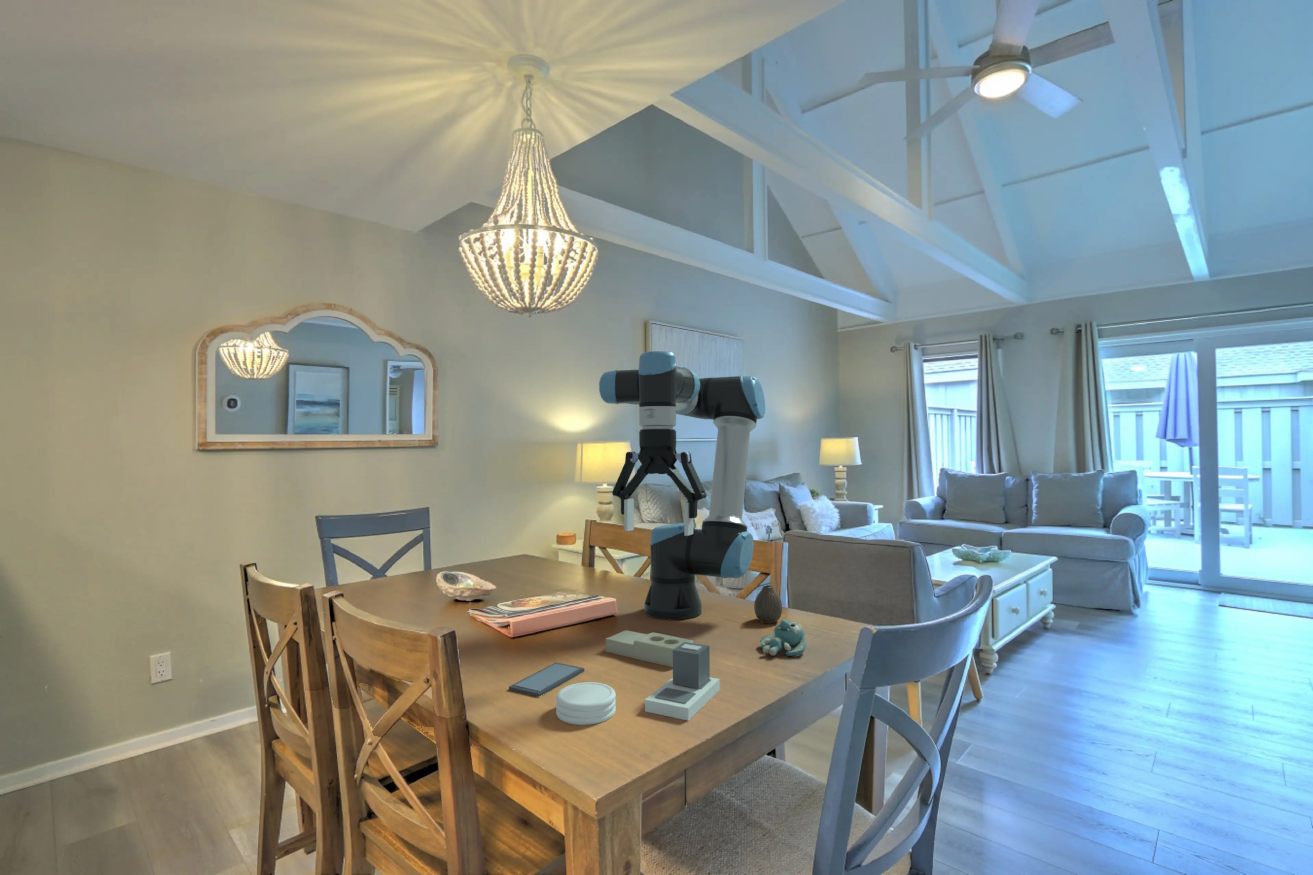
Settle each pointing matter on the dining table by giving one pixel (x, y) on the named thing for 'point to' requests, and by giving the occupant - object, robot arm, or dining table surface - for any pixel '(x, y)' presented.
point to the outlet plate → (681, 699)
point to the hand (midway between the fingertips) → (658, 532)
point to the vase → (768, 605)
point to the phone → (546, 679)
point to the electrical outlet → (645, 646)
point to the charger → (691, 665)
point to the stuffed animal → (785, 639)
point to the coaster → (585, 703)
